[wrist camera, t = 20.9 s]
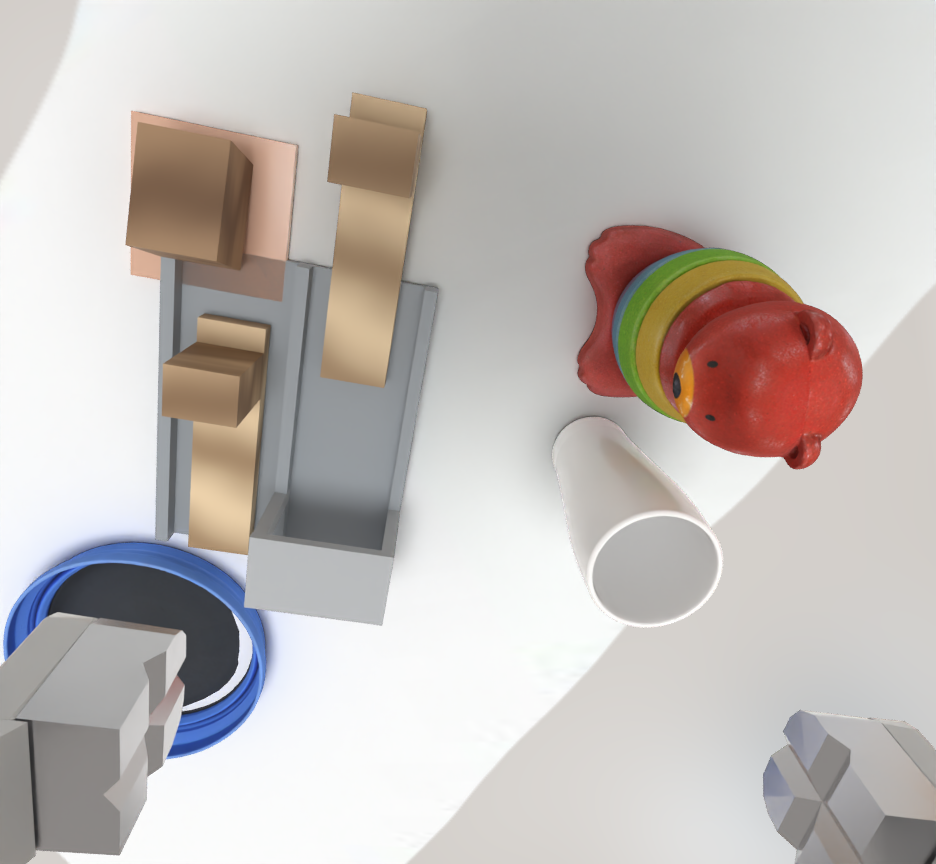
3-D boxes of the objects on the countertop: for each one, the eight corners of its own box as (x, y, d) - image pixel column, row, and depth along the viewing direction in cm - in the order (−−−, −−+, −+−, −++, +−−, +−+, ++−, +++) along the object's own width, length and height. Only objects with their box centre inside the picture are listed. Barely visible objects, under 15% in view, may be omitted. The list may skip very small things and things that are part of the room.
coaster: (136, 111, 36) (131, 110, 35) (298, 145, 37) (295, 145, 36) (135, 273, 39) (130, 274, 38) (284, 300, 40) (282, 302, 39)
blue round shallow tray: (36, 710, 51) (9, 746, 48) (26, 515, 45) (-7, 541, 42) (264, 736, 53) (252, 773, 50) (284, 553, 47) (272, 581, 44)
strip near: (355, 95, 35) (338, 78, 29) (427, 110, 36) (424, 97, 30) (323, 371, 41) (303, 403, 35) (385, 382, 41) (376, 415, 35)
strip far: (204, 313, 39) (163, 336, 33) (270, 325, 40) (241, 349, 34) (194, 537, 45) (158, 590, 39) (252, 545, 45) (224, 599, 39)
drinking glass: (546, 500, 46) (591, 640, 32) (534, 412, 43) (578, 523, 29) (640, 484, 46) (727, 618, 32) (633, 395, 43) (725, 498, 29)
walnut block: (172, 148, 36) (137, 121, 32) (253, 164, 36) (230, 140, 32) (160, 256, 37) (125, 244, 32) (240, 270, 37) (216, 261, 33)
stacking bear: (587, 224, 39) (695, 256, 22) (750, 227, 39) (973, 261, 23) (573, 393, 43) (656, 526, 26) (721, 394, 43) (894, 526, 27)
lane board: (173, 238, 38) (112, 251, 31) (438, 288, 40) (437, 311, 33) (165, 526, 45) (114, 590, 38) (391, 558, 47) (382, 625, 40)
